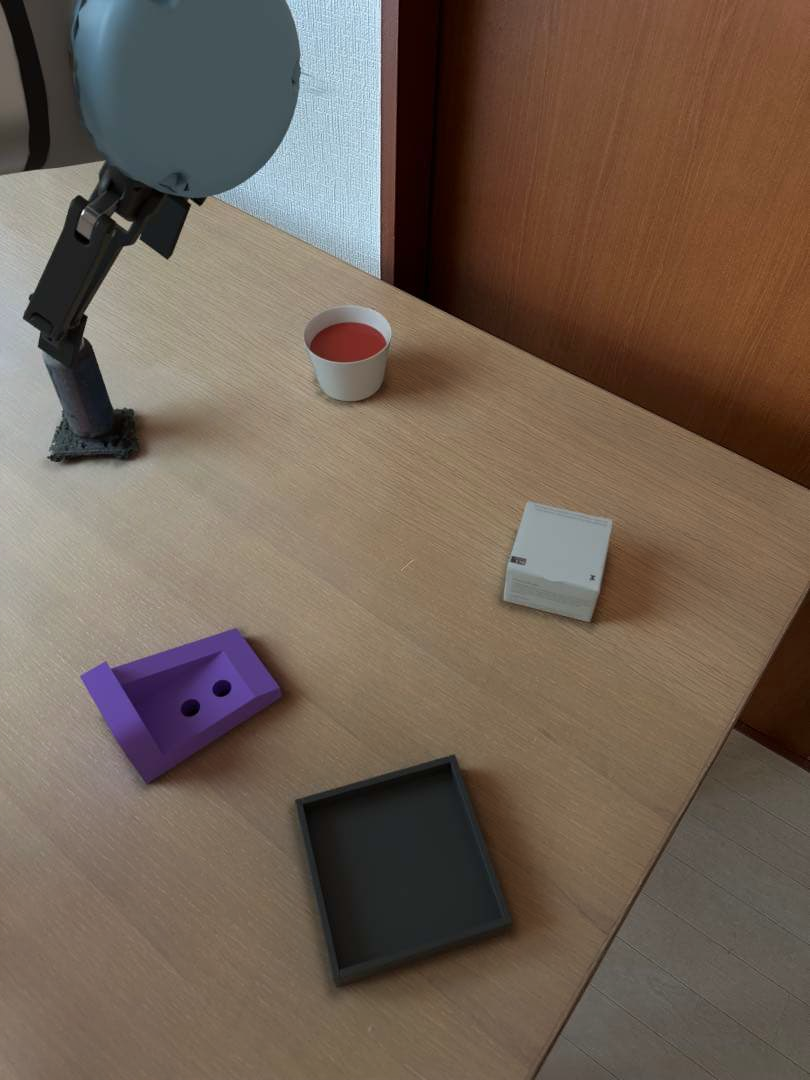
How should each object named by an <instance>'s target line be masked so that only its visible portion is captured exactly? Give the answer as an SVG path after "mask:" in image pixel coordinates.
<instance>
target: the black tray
mask: <svg viewBox="0 0 810 1080" xmlns="http://www.w3.org/2000/svg"><path fill="white" fill-rule="evenodd" d="M467 788H468V787H467V786H466V782H465V780H464V777H463V774H462V771H461V768H460V765H459V762H458V759H457V757H456V754H451V755H447V756H444V757H440V758H436V759H433V760H431V761H427V762H423V763H419V764H415V765H412V766H408V767H405V768H402V769H397V770H395V771H391V772H388V773H383V774H381V775H377V776H374V777H370V778H366V779H363V780H360V781H359V780H358V781H356V782H352V783H349V784H346V785H342V786H338V787H335V788H331V789H327V790H325V791H321V792H317V793H313V794H311V795H307V796H303V797H300V798H297V799H294V803H295V808H296V813H297V818H298V823H299V827H300V832H301V836H302V841H303V845H304V846H303V847H304V851H305V856H306V860H307V864H308V869H309V873H310V874H309V875H310V878H311V883H312V888H313V893H314V897H315V902H316V906H317V911H318V916H319V920H320V924H321V928H322V934H323V938H324V942H325V948H326V953H327V957H328V961H329V967H330V971H331V976H332V980H333V982H334V985H335V987H336V988H340V987H342V986H346V985H348V984H352V983H355V982H358V981H361V980H364V979H367V978H370V977H374V976H376V975H380V974H382V973H386V972H389V971H392V970H395V969H398V968H401V967H403V966H404V967H405V966H407V965H410V964H413V963H416V962H420V961H422V960H426V959H429V958H432V957H435V956H438V955H441V954H444V953H447V952H450V951H454V950H456V949H458V948H459V949H460V948H462V947H465V946H468V945H472V944H474V943H478V942H480V941H485V940H487V939H490V938H493V937H496V936H499V935H502V934H505V933H509V932H510V930H511V928H512V925H513V919H512V916H511V913H510V910H509V908H508V905H507V901H506V899H505V896H504V894H503V889H502V887H501V885H500V881H499V879H498V876H497V873H496V870H495V867H494V864H493V861H492V858H491V855H490V852H489V850H488V847H487V844H486V841H485V838H484V834H483V832H482V829H481V826H480V824H479V821H478V817H477V815H476V812H475V809H474V807H473V803H472V801H471V798H470V797H471V796H470V794H469V791H468V789H467Z"/></svg>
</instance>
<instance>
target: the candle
mask: <svg viewBox="0 0 810 1080" xmlns="http://www.w3.org/2000/svg"><path fill="white" fill-rule="evenodd" d="M390 324H391V323H390V322H389V320H388V319H387V318H386V317H385V316H384V315H383V314H381V313H380V312H378V311H376V310H374V309H372V308H369V307H367V306H366V307H365V306H360V305H351V304H350V305H349V304H347V305H338V306H334V307H329V308H327V309H325V310H322V311H320V312H318V313H316V314H315V315H313V316H312V317H311V318H310V319H309V320H308V321H307V323H306V324H305V326H304V328H303V331H302V342H303V345H304V348H305V351H306V353H307V355H308V359H309V361H310V365H311V367H312V369H313V373H314V375H315V377H316V380H317V382H318V383H317V384H318V385H319V387H320V389H321V390H322V391H323V392H324V393H325V395H327V396H328V397H330V398H332V399H334V400H337V401H341V402H342V401H343V402H357V401H362V400H365V399H367V398H369V397H371V396H373V395H374V394H376V393H377V392H378V391H379V389H380V388H381V386H382V384H383V382H384V378H385V373H386V368H387V362H388V357H389V352H390V348H391V347H390V346H391V342H392V334H393V332H392V326H391V325H390Z"/></svg>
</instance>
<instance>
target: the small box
mask: <svg viewBox="0 0 810 1080" xmlns="http://www.w3.org/2000/svg"><path fill="white" fill-rule="evenodd" d="M613 524H614V520H613V519H611V518H606V517H602V516H596V515H593V514H587V513H583V512H578V511H574V510H569V509H565V508H560V507H557V506H551V505H548V504H542V503H538V502H534V501H530V500H528V501H527V502H526V505H525V507H524V510H523V514H522V516H521V521H520V522H519V527H518V529H517V532H516V536H515V539H514V543H513V546H512V548H511V552H510V555H509V559H508V562H507V565H506V575H505V583H504V590H503V601H504V602H508V603H512V604H516V605H518V606H519V605H520V606H524V607H527V608H531V609H536V610H538V611H539V610H540V611H543V612H547V613H551V614H555V615H559V616H563V617H567V618H571V619H575V620H579V621H583V622H586V623H590V622H591V621H592V617H593V615H594V612H595V608H596V605H597V601H598V598H599V595H600V593H601V588H602V581H603V577H604V573H605V568H606V562H607V558H608V551H609V547H610V543H611V542H610V541H611V535H612V530H613Z"/></svg>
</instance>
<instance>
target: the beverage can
mask: <svg viewBox="0 0 810 1080" xmlns="http://www.w3.org/2000/svg"><path fill="white" fill-rule="evenodd" d="M41 351H42V352H41V356H42V360H43V362H44V365H45V368H46V370H47V373H48V375H49V379H50V380H51V383H52V385H53V388H54V390H55V393H56V396H57V398H58V401H59V403H60V405H61V407H62V408H61V409H62V410H61V418H62V419H61V420H60V421H59V425H56V428H55V431H54V434H53V439H52V440H51V442H50V443H51V444H50V446H49V448H48V453H50V455H47V457H46V458H47V459H48V460H50V462H54V463H61V462H67V461H68V460H69V459H70V458H72V457H74V458H76V457H78V458H79V457H82V456H83V457H85V456H87V457H88V456H89V457H95V458H100V457H101V458H104V459H105V456H106V455H108V456H109V457H114V456H115V459H117V460H125V459H128V457H130V456H131V455H130V454H134V455H135V454H138V452H139V451H140V450H141V449H142V447H141V446H142V444H141V443H140V442H139V440H140V439H139V438H138V437H137V436H135V435H134V436H131V437H129V432H131V433H136V432H137V421H136V415H135V410H134V409H133V408H130V407H129V408H127V407H126V406H124V407H122V408H115V409H114V407H113V404H112V402H111V398H110V395H109V393H108V390H107V387H106V386H107V385H106V384H105V381H104V378H103V374H102V371H101V369H100V366H99V362H98V358H97V357H96V352H95V350H94V347H93V345H92V343H91V342H90V340H88V338H86V337H85V336H83V338H82V341H81V345H80V349H79V353H78V356H77V360H76V363H75V364H74V365H73V366H72V367H71V369H69V368H68V367H66V366H65V365H63V364H62V363H60V362H59V361H57V360H56V359H54V358H53V357H51V356H50V355H48V354H47V353H46V352H44V351H43V350H41ZM130 450H133V452H134V453H133V452H132V451H130Z"/></svg>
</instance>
